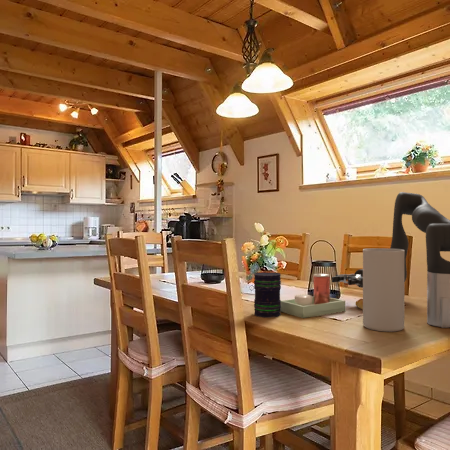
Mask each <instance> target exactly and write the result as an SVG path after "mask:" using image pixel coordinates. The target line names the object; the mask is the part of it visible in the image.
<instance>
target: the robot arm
mask: <svg viewBox="0 0 450 450" xmlns="http://www.w3.org/2000/svg"><path fill="white" fill-rule="evenodd" d="M393 207H394V208H393V220H392V234H391V242H390V243H391V244H390V248H389V249H402V250H404V283H405V282H406V281H407V276H408V272H407V271H408V269H407V255H408V251H409V238H408V237H407V233H406V231H405V229H404V225H403V215H407V216H411V221H412V223H413V224H414V225H415V227H416V228H417V229H418V230H419V231H421V232H423V233H424V234H425V247H426V249H425V250H426V267H427V268H426V270H427V271H426V272H427V273H426V286H427V287H426V323H427V324H428V325H430V326H433V327H439V328H442V329H444V328H450V261H449V260H447V259H445V258H444V257H442V255H441V252H444V253H445V252H449V253H450V219H449V218H447V217H446V216H445V215H443V214H441V213H440V212H439V211H438V210H437V209H436V208H435V207H434V206H432V205H431V204H430V203H429V202H428V201H427V199H426V198H425V196H423V195H422V194H419V193H413V192H404V191H399V193H398V194H397V196H396V197H395V201H394V205H393ZM331 283H344V284H347V285H348V286H353V285H355V286H356V287H358V288H361V289H363V268H362V269H361V268H360V269H357V270H356V271H355V272H354V273H350V274H347V273H343V274H335V276H331Z"/></svg>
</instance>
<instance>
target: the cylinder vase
mask: <svg viewBox="0 0 450 450" xmlns="http://www.w3.org/2000/svg"><path fill="white" fill-rule="evenodd" d="M362 269H363V288H362V299H363V310H362V324H363V326H364V327H365V328H367V329H368V330H372V331H376V332H377V331H378V332H385V333H386V332H387V333H389V332H390V333H391V332H392V333H393V332H400V331H402V330H403V329H404V328H405V282H404V250H402V249H390V248H384V247H383V248H379V247H377V248H363V249H362Z"/></svg>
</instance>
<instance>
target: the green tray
mask: <svg viewBox="0 0 450 450" xmlns="http://www.w3.org/2000/svg"><path fill="white" fill-rule="evenodd" d="M280 309H281V311H280V313H283V314H287V315H291V316H295V317H298V318H301V319H307V318H311V317H319V316H323V315H324V316H325V314H326V315H331V313H332V314H337V313H336V312H338V313H343V312H342V311H344V312H346V300H343V299H341V298H340V299H339V298H334V297H330V302H328V303H321V304H314V296H312V305H307V306H301V305H297V304H295V298H291V299H285V300H281V308H280Z"/></svg>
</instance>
